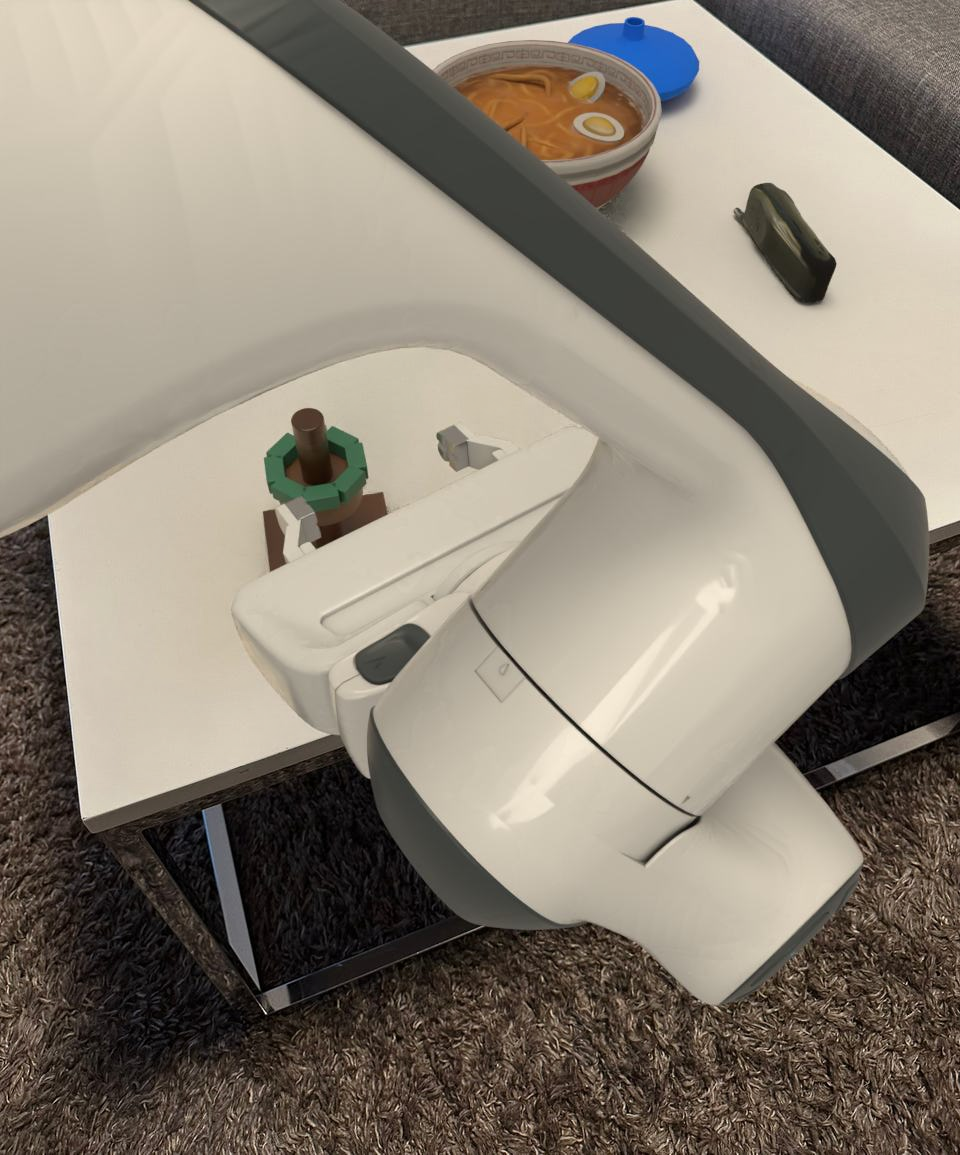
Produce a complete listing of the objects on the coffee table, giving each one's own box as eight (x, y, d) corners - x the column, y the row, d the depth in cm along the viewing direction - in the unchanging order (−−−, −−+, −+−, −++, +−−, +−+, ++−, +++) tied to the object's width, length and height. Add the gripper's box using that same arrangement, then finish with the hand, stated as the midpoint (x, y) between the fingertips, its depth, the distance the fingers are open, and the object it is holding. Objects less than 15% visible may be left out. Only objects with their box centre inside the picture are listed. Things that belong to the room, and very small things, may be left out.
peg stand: (277, 619, 66) (238, 484, 55) (265, 521, 72) (227, 379, 60) (404, 596, 68) (392, 460, 56) (384, 502, 73) (369, 360, 62)
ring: (272, 519, 60) (269, 506, 59) (263, 446, 64) (260, 433, 63) (373, 503, 61) (372, 490, 60) (359, 432, 65) (357, 419, 64)
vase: (606, 135, 104) (614, 69, 98) (532, 71, 112) (536, 7, 106) (722, 101, 109) (736, 36, 103) (643, 42, 117) (652, -21, 111)
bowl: (669, 158, 102) (686, 62, 93) (612, 285, 89) (627, 186, 81) (467, 117, 106) (467, 22, 98) (385, 232, 93) (378, 133, 85)
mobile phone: (846, 259, 84) (766, 164, 92) (815, 264, 83) (738, 168, 91) (827, 304, 88) (753, 210, 96) (798, 310, 87) (726, 214, 95)
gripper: (715, 490, 43) (533, 347, 51) (306, 717, 36) (170, 510, 44) (699, 584, 47) (535, 440, 55) (334, 800, 40) (207, 600, 48)
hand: (371, 472), depth 49 cm, fingers open, 8 cm apart
